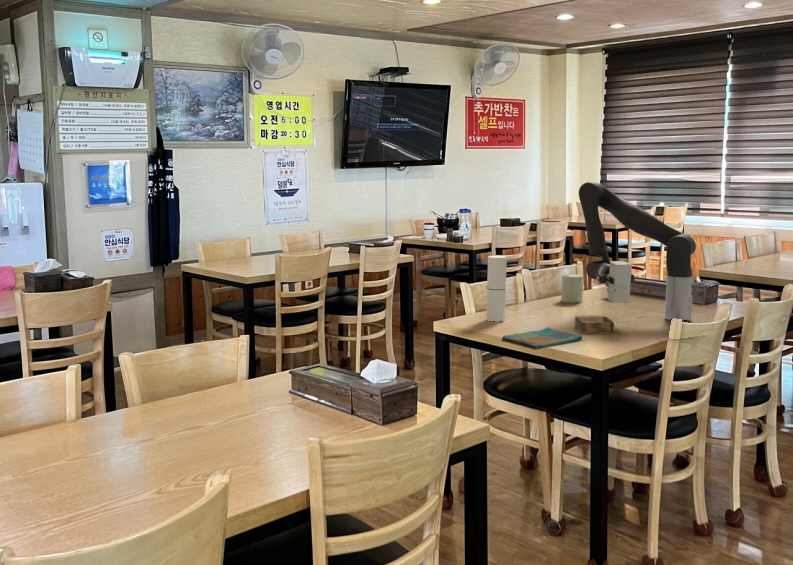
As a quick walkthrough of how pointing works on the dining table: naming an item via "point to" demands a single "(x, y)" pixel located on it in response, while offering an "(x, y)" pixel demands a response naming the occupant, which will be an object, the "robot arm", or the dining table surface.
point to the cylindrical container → (496, 288)
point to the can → (572, 288)
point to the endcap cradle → (595, 326)
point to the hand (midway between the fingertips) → (621, 281)
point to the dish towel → (542, 338)
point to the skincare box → (619, 282)
